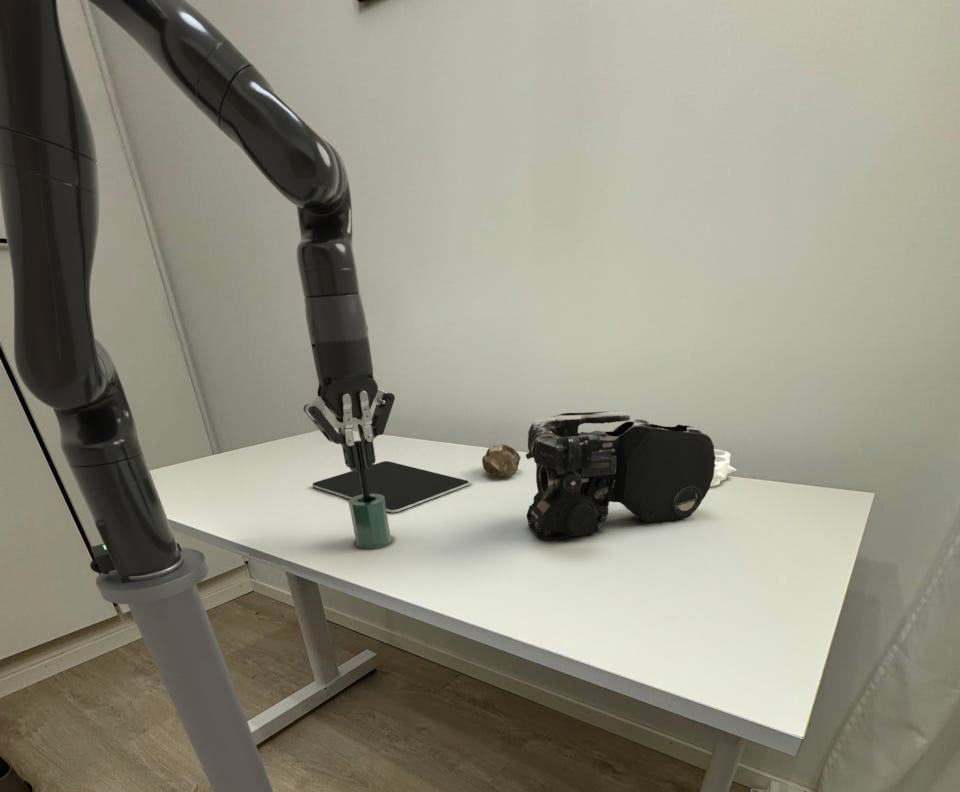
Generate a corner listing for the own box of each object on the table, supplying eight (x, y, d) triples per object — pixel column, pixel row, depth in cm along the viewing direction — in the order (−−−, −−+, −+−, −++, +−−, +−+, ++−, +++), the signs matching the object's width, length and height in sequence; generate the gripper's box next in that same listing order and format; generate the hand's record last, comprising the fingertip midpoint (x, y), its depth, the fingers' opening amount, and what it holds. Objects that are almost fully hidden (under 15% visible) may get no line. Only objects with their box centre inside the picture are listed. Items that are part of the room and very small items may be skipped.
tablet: (309, 483, 114) (385, 460, 126) (310, 486, 114) (386, 463, 126) (393, 510, 98) (471, 481, 110) (393, 514, 98) (471, 484, 110)
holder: (366, 552, 85) (358, 508, 81) (350, 541, 89) (342, 499, 85) (397, 542, 88) (390, 499, 84) (380, 532, 91) (374, 491, 88)
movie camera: (533, 557, 78) (537, 426, 69) (506, 519, 93) (506, 408, 85) (735, 540, 82) (762, 414, 74) (677, 506, 98) (694, 399, 89)
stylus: (372, 540, 87) (355, 442, 79) (369, 538, 88) (352, 441, 80) (377, 538, 88) (361, 441, 80) (375, 536, 88) (358, 440, 80)
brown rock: (488, 454, 120) (470, 475, 113) (501, 428, 115) (482, 449, 108) (518, 473, 120) (501, 495, 113) (531, 448, 115) (515, 470, 108)
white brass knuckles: (673, 461, 117) (745, 470, 108) (634, 484, 105) (711, 497, 97) (676, 444, 115) (749, 453, 107) (636, 466, 104) (715, 477, 95)
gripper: (372, 330, 78) (390, 455, 88) (278, 340, 72) (308, 473, 81) (398, 331, 73) (414, 464, 83) (299, 342, 67) (328, 485, 76)
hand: (361, 468), depth 82 cm, fingers closed
